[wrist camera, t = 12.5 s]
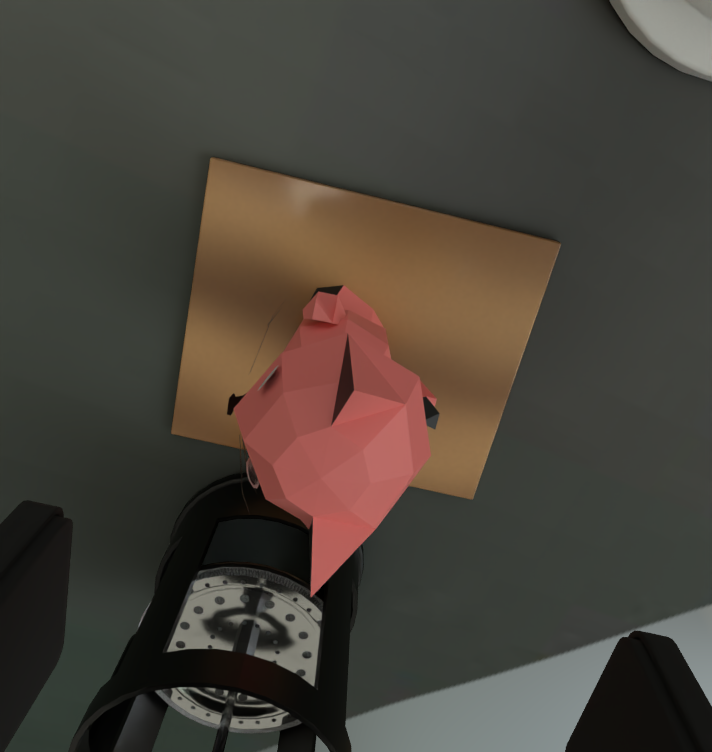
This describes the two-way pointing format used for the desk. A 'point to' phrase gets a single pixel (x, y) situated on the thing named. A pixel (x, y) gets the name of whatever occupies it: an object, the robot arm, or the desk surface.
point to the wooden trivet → (372, 285)
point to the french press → (231, 642)
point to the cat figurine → (335, 427)
